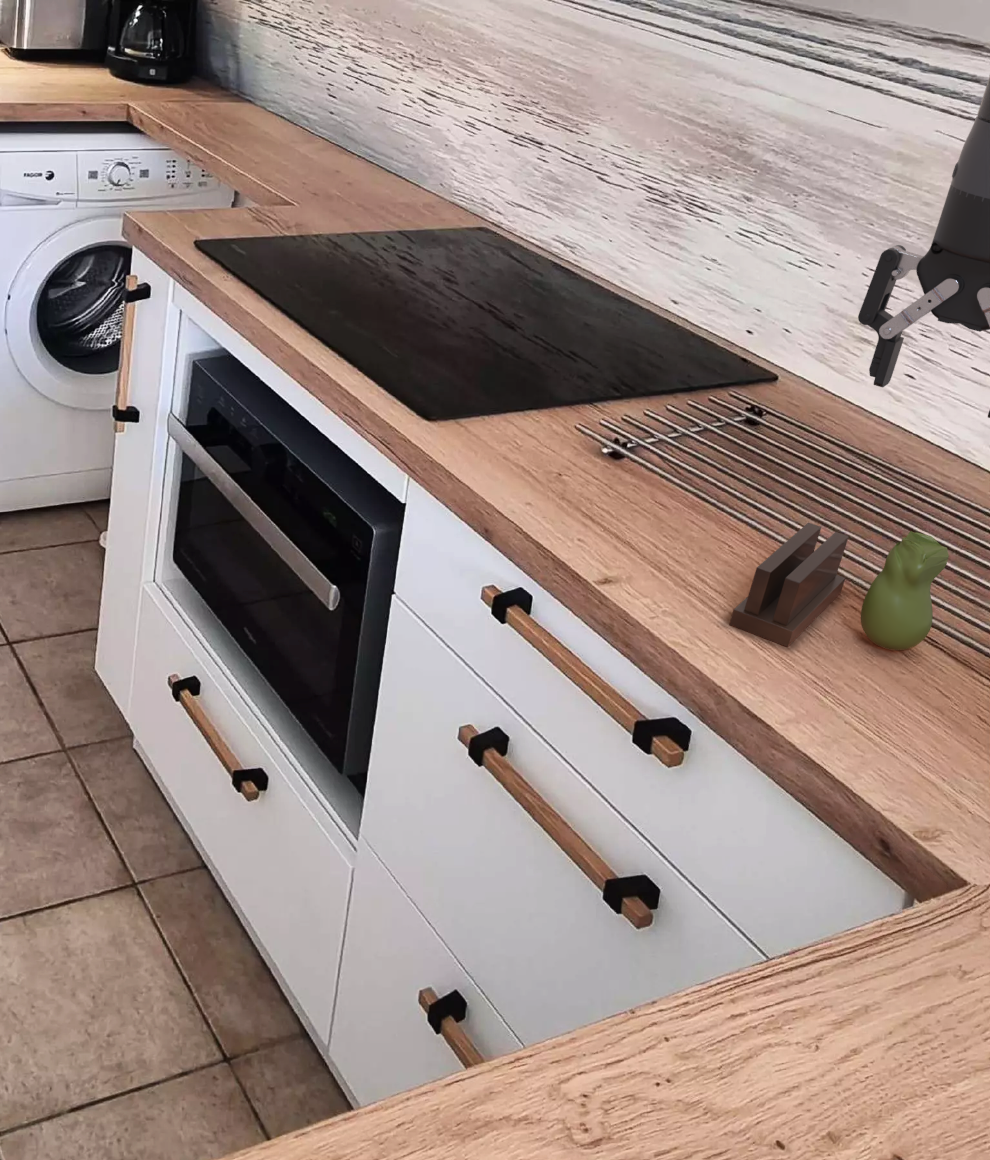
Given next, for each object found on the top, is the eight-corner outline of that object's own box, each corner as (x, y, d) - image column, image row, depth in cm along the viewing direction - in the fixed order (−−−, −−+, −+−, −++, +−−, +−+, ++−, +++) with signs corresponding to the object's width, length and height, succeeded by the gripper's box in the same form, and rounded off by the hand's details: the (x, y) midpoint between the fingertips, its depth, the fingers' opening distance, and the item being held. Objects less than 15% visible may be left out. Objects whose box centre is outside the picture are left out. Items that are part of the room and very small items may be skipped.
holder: (840, 592, 134) (859, 536, 132) (787, 647, 124) (806, 588, 121) (785, 572, 137) (802, 517, 134) (728, 624, 126) (746, 566, 124)
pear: (877, 623, 129) (914, 517, 125) (934, 652, 126) (973, 544, 121) (839, 638, 126) (875, 530, 122) (896, 667, 123) (935, 557, 118)
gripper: (1125, 205, 108) (1046, 417, 116) (921, 162, 116) (859, 364, 123) (1104, 219, 103) (1022, 440, 110) (892, 173, 110) (828, 384, 118)
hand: (936, 400), depth 117 cm, fingers open, 8 cm apart
